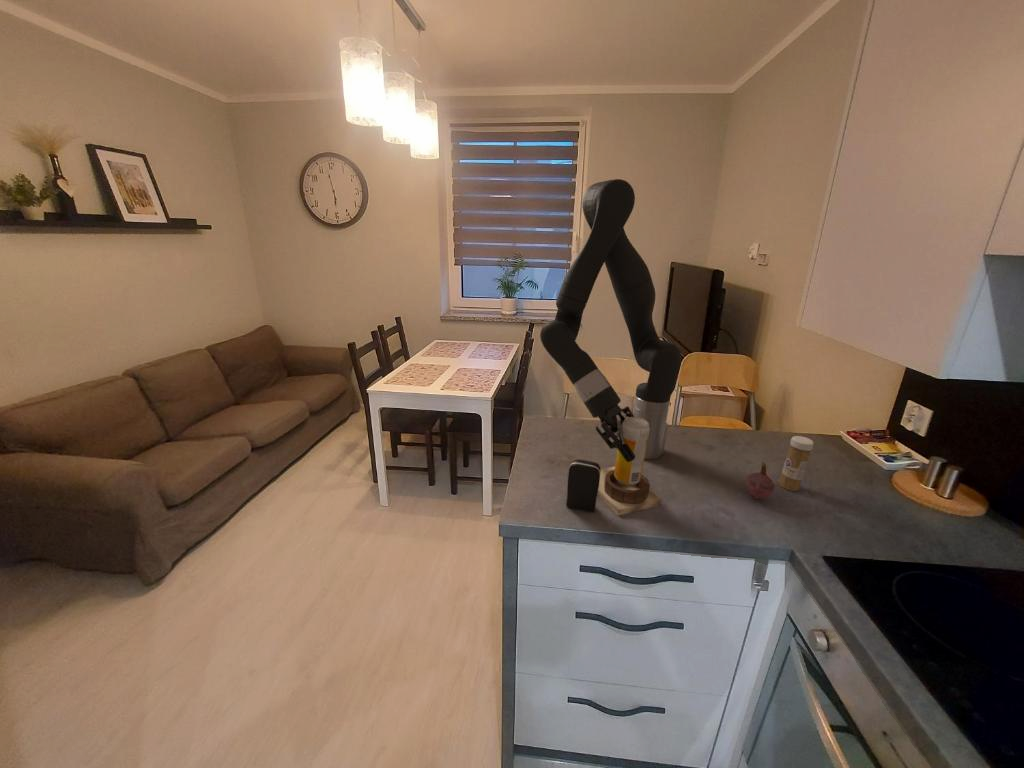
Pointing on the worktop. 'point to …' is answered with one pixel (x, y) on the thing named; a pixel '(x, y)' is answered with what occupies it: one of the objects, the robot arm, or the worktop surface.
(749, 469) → the worktop surface
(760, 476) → the vegetable
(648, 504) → the collar board
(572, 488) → the battery charger
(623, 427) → the beer can
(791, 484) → the sprinkles bottle
